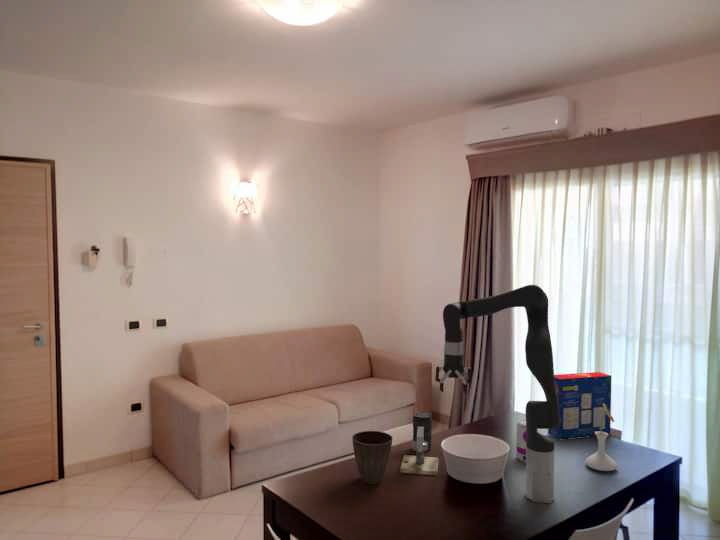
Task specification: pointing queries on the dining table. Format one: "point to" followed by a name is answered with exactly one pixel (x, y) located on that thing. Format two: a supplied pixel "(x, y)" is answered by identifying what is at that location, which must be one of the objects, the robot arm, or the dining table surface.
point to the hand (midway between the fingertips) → (453, 392)
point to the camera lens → (425, 422)
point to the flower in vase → (602, 450)
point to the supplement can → (521, 440)
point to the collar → (420, 441)
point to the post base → (419, 464)
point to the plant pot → (372, 454)
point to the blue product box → (582, 404)
